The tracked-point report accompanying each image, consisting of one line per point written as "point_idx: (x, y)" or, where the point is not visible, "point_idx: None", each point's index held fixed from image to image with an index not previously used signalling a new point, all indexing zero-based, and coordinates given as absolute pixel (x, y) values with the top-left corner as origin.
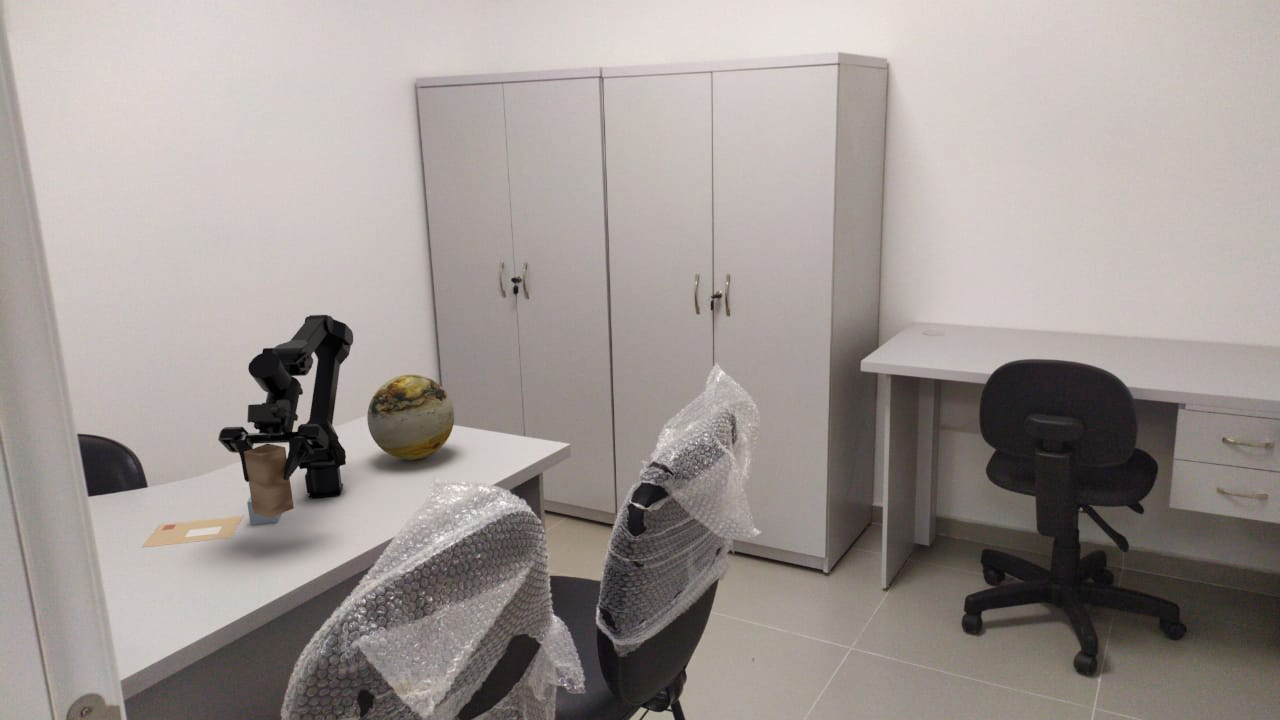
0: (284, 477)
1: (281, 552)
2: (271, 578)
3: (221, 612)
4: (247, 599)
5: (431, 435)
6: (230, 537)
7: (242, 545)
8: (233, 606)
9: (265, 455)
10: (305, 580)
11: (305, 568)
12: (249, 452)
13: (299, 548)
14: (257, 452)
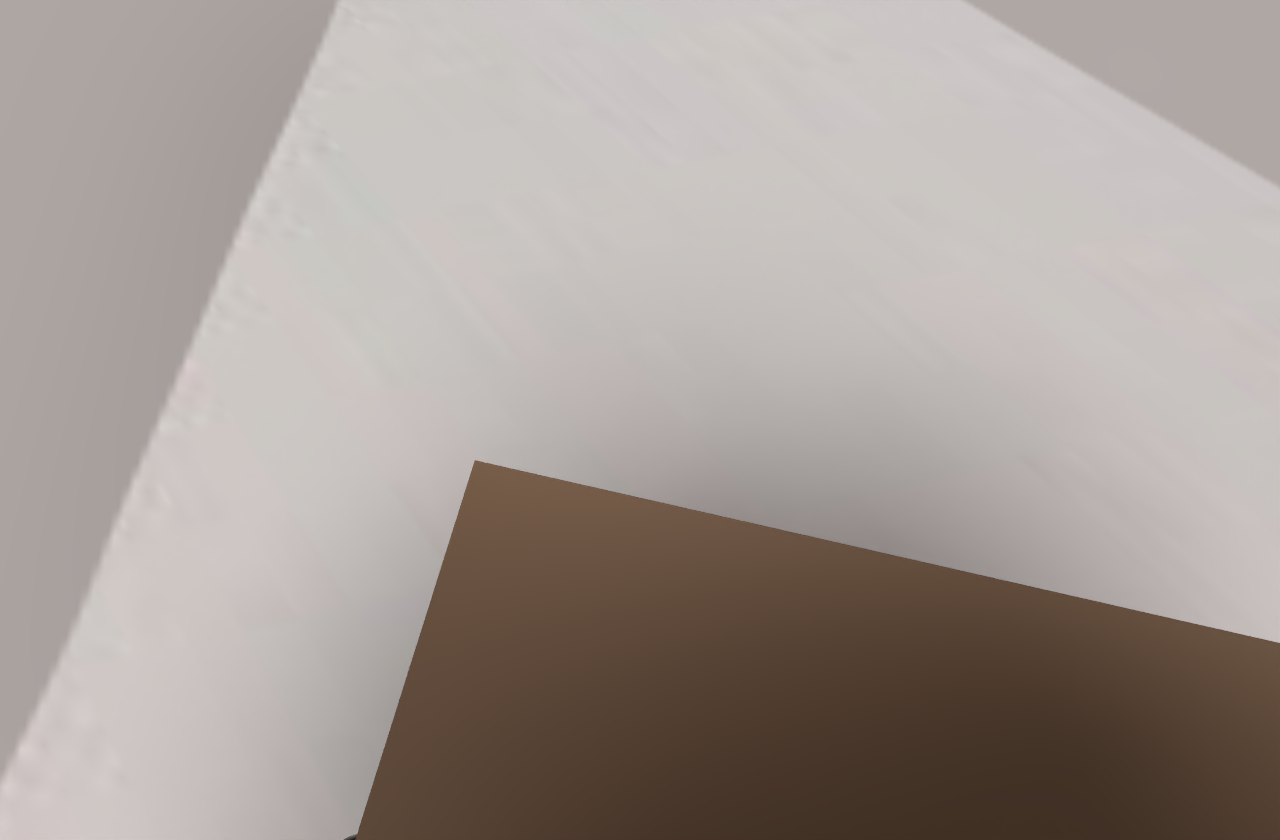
0: (353, 836)
1: None
2: (408, 350)
3: (437, 39)
4: (392, 149)
5: None
6: None
7: None
8: (417, 88)
9: (441, 583)
10: (196, 371)
11: (275, 499)
12: (1172, 664)
13: None
14: (879, 722)
